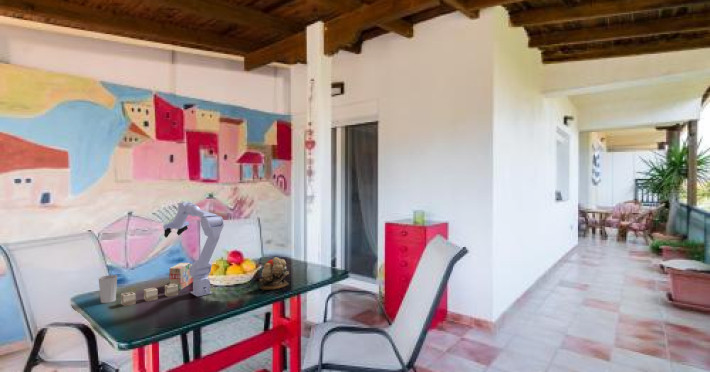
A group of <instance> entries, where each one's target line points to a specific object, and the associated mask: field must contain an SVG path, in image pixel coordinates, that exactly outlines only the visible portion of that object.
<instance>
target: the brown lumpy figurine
mask: <svg viewBox="0 0 710 372" xmlns="http://www.w3.org/2000/svg"><path fill="white" fill-rule="evenodd" d="M272 260H273V264H274V265H273V266H272V265H271V264H270V263H267V262H265V264H264V265H263V268H262V270H261V278H259V282H260V283H262V284H261V285H260V286H259V289H260V290H261V289H262V290H261V291H264V290H271V291H276V290H275V289H278V290H281V289H280V288H282V289H284V287H285V288H287V287H289V285H290V284H289V282H288V281H287V280H285V278H287V277H288V275H290V272H289V270H287V262H286V260H285V259H281V258H280V257H276V256H275V257H273V259H272ZM286 286H287V287H286Z"/></svg>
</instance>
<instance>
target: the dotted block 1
mask: <svg viewBox="0 0 710 372" xmlns="http://www.w3.org/2000/svg"><path fill="white" fill-rule="evenodd" d="M136 297H137V296H136V293H135V292H133V291H129V292H124V293H121V294H120V299H121V300H120V301H121V302H120V304H121V305H122V307H126V306H133V305H136V303H137V301H136V300H137V298H136Z"/></svg>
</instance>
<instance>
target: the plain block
mask: <svg viewBox="0 0 710 372" xmlns="http://www.w3.org/2000/svg"><path fill="white" fill-rule="evenodd" d="M158 291H159V290H158V289H157V288H156V287H148V288H145V289H143V300H144V299H145V300H144V301H146V302H151V301H155V300H158V299H159V293H158Z"/></svg>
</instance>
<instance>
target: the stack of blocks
mask: <svg viewBox="0 0 710 372" xmlns="http://www.w3.org/2000/svg"><path fill="white" fill-rule="evenodd" d="M192 264H193V263H191V262H179V263H177V264H175V265H173V266H171V267H169V277H168V278H169V285H170V284H176V285H178V291H180V290H182V289H184V288H186V287H187V286H189V285H191V284H193V278H192V277H191V276H190V274H189V269H190V267H191V266H192Z"/></svg>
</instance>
